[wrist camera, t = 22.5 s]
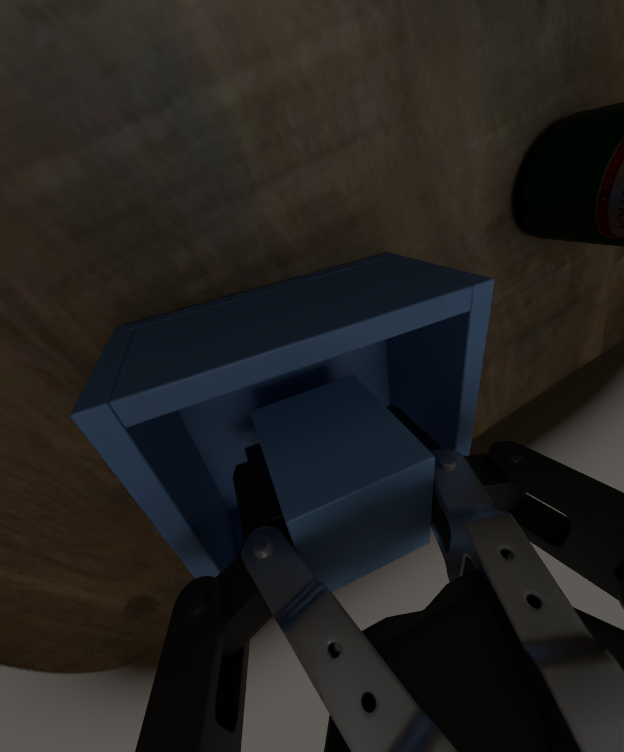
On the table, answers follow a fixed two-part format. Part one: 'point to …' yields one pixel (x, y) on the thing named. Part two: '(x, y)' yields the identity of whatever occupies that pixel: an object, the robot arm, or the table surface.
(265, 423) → the blue block
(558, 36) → the table surface
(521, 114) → the table surface
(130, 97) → the table surface
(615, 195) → the soda can
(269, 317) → the blue bin
